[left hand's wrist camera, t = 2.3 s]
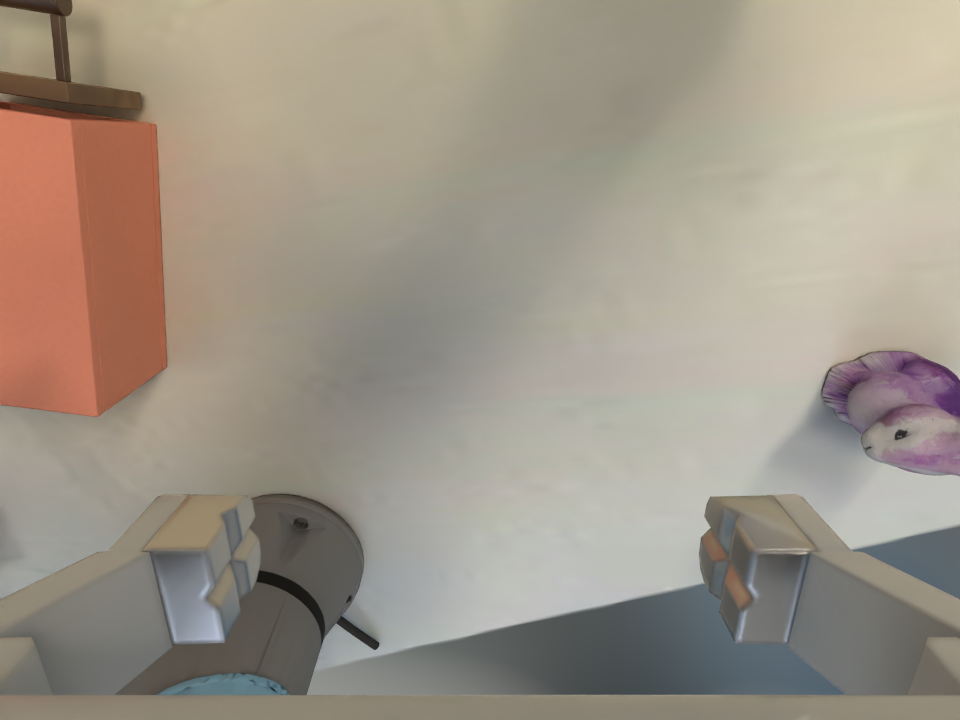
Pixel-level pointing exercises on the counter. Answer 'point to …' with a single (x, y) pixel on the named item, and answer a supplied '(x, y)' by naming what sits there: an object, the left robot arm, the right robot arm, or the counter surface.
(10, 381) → the cabinet
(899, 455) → the figurine
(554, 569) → the counter surface
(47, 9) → the drawer
